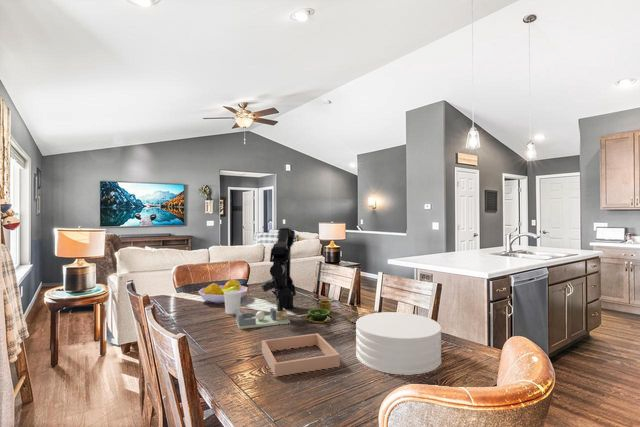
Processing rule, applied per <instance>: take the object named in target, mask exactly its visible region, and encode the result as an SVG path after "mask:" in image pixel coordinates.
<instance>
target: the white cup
mask: <svg viewBox="0 0 640 427" xmlns="http://www.w3.org/2000/svg"><path fill="white" fill-rule="evenodd" d="M224 298H225V303H224V308H225V309H224V310H225V314H226V315H236V309H240V310H241V300H242V297H241V291H236V290H233V291H226V292H224Z"/></svg>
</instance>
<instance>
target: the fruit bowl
mask: <svg viewBox="0 0 640 427" xmlns="http://www.w3.org/2000/svg"><path fill="white" fill-rule="evenodd" d="M233 290H236V291H241V298H243V297H245V296H246V293H247V292H248V291H247V290H248V287H247V286H244V285H241V282H240V281H239V280H237V279H235V278H231V279H229V280H228V281H227V282H225V284H224V285H223V284H222V285H221V284H220V285H219V284H217V283H215V282H212V283H211V284H209V285H208V286H206V287H203V288H201V289H200V290H198V292H197V293H198V294H199V295H200V297H201V298H202V299H203V301H207V302H212V303H215V304H225V298H224V292H226V291H233Z"/></svg>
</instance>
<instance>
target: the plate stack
mask: <svg viewBox="0 0 640 427" xmlns="http://www.w3.org/2000/svg"><path fill="white" fill-rule="evenodd" d="M364 315H365V316H362V317H360V318H359V319H357V321H356V324H355V331H356V333H355V335H356V337H355V342H356V343H355V350H356V351H355V357H357V358H356V360H357V359H358V360H359V361H360V362H361V363H362V364H364V365H366V366H368V367H370V368H372V369H375V370H378V371H382V372H386V373H391V374H400V375H401V374H404V375H412V374H420V373H425V372H429V371H432V370H434V369H436V368H437V367H438V366H439V365H440V364H441V365H442V327H441V325H440V324H439V323H438V322H437V321H436V320H434V319H432V318H429V317H427V316H424V315H419V314H414V313H407V312H396V311H395V312H394V311H391V312H390V311H387V312H385V311H384V312H374V313H368V314H364ZM358 360H357V361H358ZM359 361H358V362H359ZM360 362H359V363H360ZM361 363H360V364H361ZM362 364H361V365H362ZM441 365H440V366H441Z"/></svg>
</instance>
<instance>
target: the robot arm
mask: <svg viewBox="0 0 640 427" xmlns="http://www.w3.org/2000/svg"><path fill="white" fill-rule="evenodd" d="M295 240H296V232H295V230H293V229H291V228H290V227H281V228H279V230H278V231H277V242H276V243H274V244H273V245H272V248H271V249H270V255H269V256H270V257H269V263H272V265H271V267H270V269H269V273H270V275H271V279H269V280H266V281H263V282H261V283H260V287H261V289H262V291H263V292H264V293H266V292H268V291H269V290H272V291H271V293H272V294H274V296H275V300H276V301H277V299H278V302H279V308H280V309H282V308H284V309H285V310H288V309H290V310H291V309H295V307H294V297H295V296H297V289H296V286H295V284H294V280H293V278H292V277H291V262H292V261H291V260H292V259H291V258H292V257H291V256H292V254H291V253H292V247H293V245H294V243H295Z"/></svg>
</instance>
